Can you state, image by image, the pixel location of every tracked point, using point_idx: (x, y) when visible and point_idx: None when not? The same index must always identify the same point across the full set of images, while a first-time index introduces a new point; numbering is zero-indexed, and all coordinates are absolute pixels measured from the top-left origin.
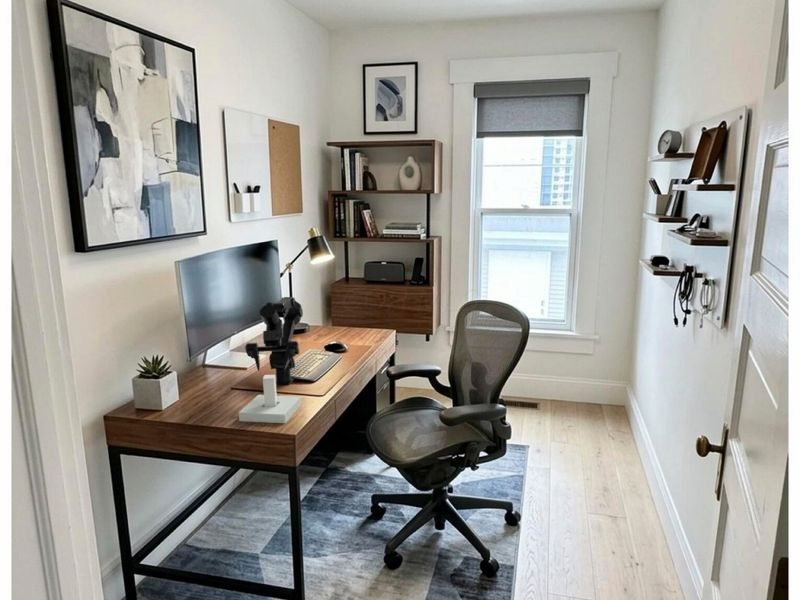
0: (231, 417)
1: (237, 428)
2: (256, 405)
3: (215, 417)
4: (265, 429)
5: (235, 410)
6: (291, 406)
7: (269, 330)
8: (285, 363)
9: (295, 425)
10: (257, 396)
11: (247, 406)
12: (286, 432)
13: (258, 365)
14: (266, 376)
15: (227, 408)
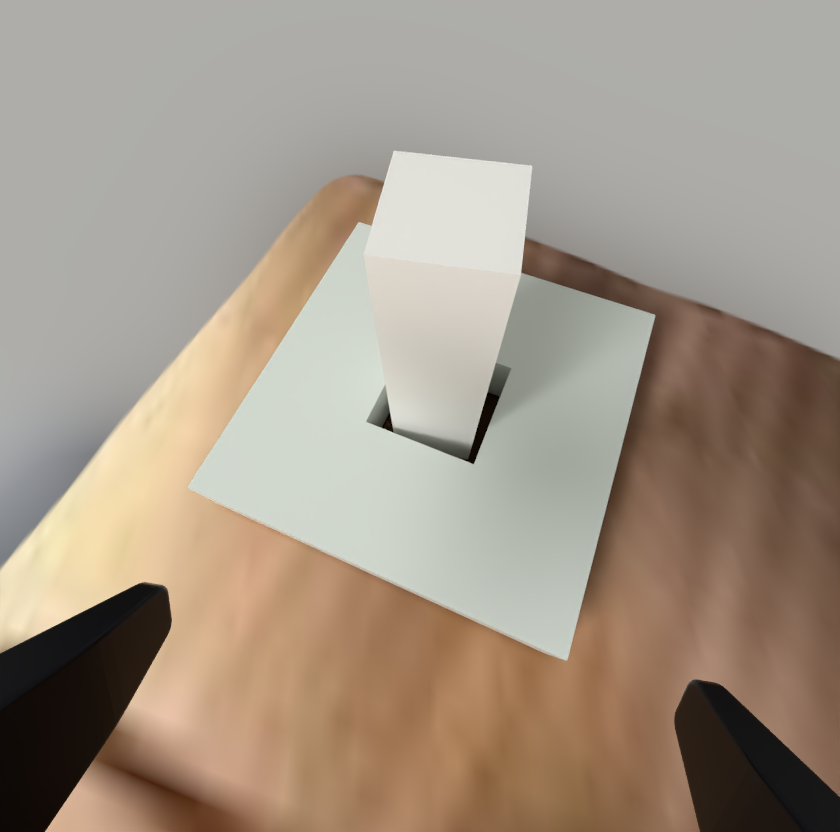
0: (697, 424)
1: (616, 275)
2: (548, 399)
3: (813, 453)
4: None
5: (708, 543)
6: (300, 318)
7: None
8: (39, 646)
9: (318, 238)
10: (569, 609)
11: (615, 399)
12: (369, 188)
13: (762, 766)
14: (488, 217)
15: (790, 608)
